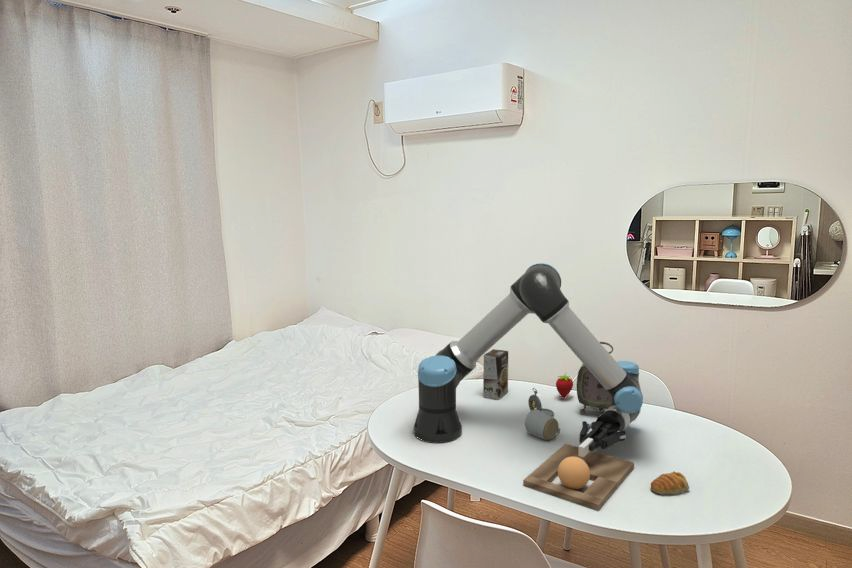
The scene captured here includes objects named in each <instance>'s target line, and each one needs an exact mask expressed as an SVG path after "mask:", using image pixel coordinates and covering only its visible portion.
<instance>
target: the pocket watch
mask: <svg viewBox="0 0 852 568" xmlns="http://www.w3.org/2000/svg"><path fill="white" fill-rule="evenodd" d="M532 391H533V392H534V393H533V394H532V395H530V396H529V397H528V408H529V411H532V410H534V409H537V410H540V411H542V412H544V413H545V414H547V415H550V416H552V417H553V416H554V411H553V410H552V409H549V408H543V407H542V406H543V405H542V402H541V400H540V397H539V396H538V395H537V394H538V390H537V389H536V388H532Z"/></svg>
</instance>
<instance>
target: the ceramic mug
mask: <svg viewBox="0 0 852 568" xmlns="http://www.w3.org/2000/svg"><path fill="white" fill-rule="evenodd" d="M524 429H525V430H526V432H527V433H528V434H531V435H534V436H535V437H537V438H540V439H542V440H544V441H550V440H553V439H554V438H555V437H556V435H557V434H559V433H560V432H561V428H560V427H559V422H558V420H557V419H556V418H555V417H553V416H550V415H547V414H545V413H544V412H542V411H540V410H537V408H535V409H534V410H532V411H531V410H529V412H528V414H527V415H526V417H525V420H524Z"/></svg>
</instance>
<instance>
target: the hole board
mask: <svg viewBox="0 0 852 568" xmlns="http://www.w3.org/2000/svg"><path fill="white" fill-rule="evenodd" d="M578 452H579V446H576V445H572V444H569V443H564V444H563V445H562V446H561V447H560V448H558V449H557V450H556V451H555V452H554V453H553V454H552V455H550V456H549V457H548V458H547V459H546V460H545V461H544V462H542V463H541V464H540V465H539V466H538V467H536V468H535V469H534V470H533V471H532V472H531V473H529V474H528V475H527V476H526V477H525V478H524V479H523V481H522V482H523V483H522V486H524V487H527V488H530V489H532V490H536V491H539V492H542V493H544V494H548V495H551V496H554V497H555V498H559V499H562V500H566V501H568V502H571V503H574V504H576V505H577V504H578V505H580V506H582V507H586V508H589V509H592V510H595V511H599V510H600V509H602V507H603V506H604V505H605V503H606V502H607V501H608V500H609V498H610V497H611V496H612V495H613V494H614V492H615V491H616V490H617V489H618V487H619V486H620V485H621V484H622V483H623V482H624V481H625V479H626V478H627V476H629V474H630V473H631V471H632V470H634V468H635V462H633V461H629V460H626V459H623V458H620V457H616V456H612V455H609V454H604V453H600V452H597V451H595V450H594V451H590V452H589V453H588V454H587V455H586V456H585V457H581V456H578ZM567 457H578V458H580V459H582V460H583V461H585V462H586V464H587V465H588V467H589V470H590V478H589V481H590V480H591V481H593V482H592V483H591V484H590V485H589V486H588V487H587V488H586V489H585V490H584V492H581V491H578V490H577V489H570V488H568V487H566V486H564V485H560V484H557V483H553V480H555V479H556V478H557V477H558V467H559V464H560V463H561V462H562V460H564V459H565V458H567Z"/></svg>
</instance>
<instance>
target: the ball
mask: <svg viewBox="0 0 852 568" xmlns="http://www.w3.org/2000/svg"><path fill="white" fill-rule="evenodd" d="M557 477H558V479H559V481H560V483H561V484H562V486H564V487H566V488H569V489H572V490H580V489H582V488H584V487H586V485H587V484H588V483H589V481H590V479H589V478H590V470H589V467H588V465H587V464H586V462H585V461H583V460H582V459H580V458H578V457H567V458H565V459H564V460H562V462H561V463H560V464H559V467H558V476H557Z"/></svg>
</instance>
